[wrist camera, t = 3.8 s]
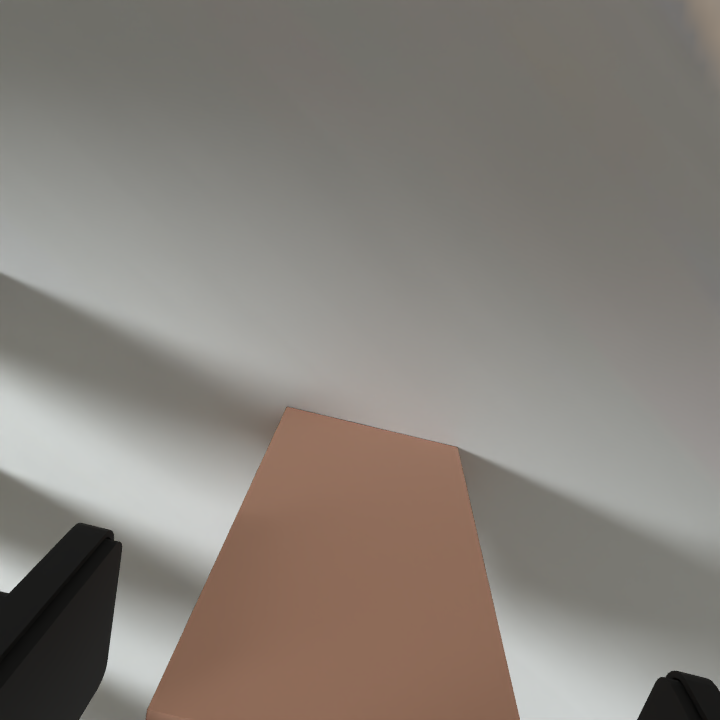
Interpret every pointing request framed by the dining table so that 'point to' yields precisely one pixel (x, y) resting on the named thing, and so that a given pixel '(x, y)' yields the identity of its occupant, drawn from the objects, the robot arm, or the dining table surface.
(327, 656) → the domino
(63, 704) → the robot arm
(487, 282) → the dining table surface
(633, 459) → the dining table surface
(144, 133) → the dining table surface
